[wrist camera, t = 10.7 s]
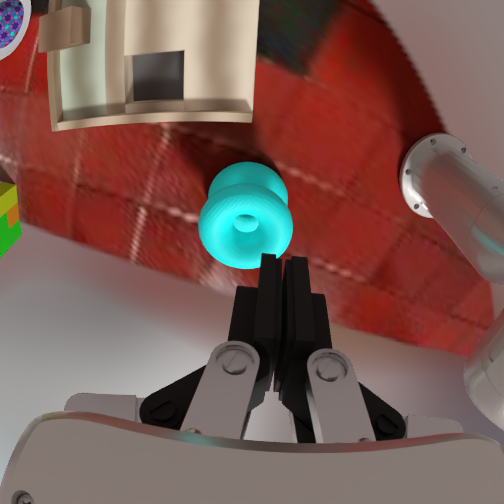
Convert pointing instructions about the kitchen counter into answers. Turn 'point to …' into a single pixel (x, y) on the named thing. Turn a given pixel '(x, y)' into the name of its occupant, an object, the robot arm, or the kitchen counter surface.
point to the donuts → (246, 215)
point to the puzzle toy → (8, 217)
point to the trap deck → (156, 63)
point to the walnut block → (64, 29)
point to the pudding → (12, 24)
